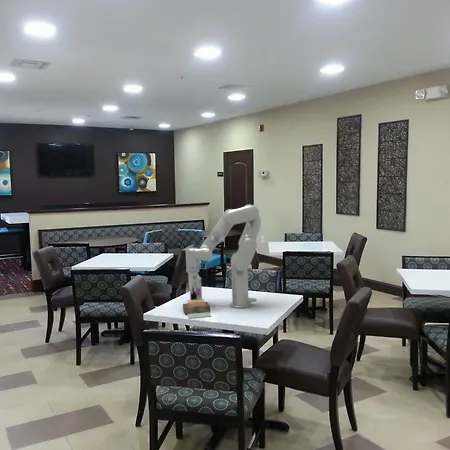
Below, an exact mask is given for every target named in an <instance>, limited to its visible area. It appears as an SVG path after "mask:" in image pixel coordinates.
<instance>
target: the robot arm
mask: <svg viewBox="0 0 450 450" xmlns="http://www.w3.org/2000/svg"><path fill="white" fill-rule="evenodd" d="M243 223H245V225H244V229H243V231H242V234H241V235H240V238H239V240H238V249H237V252H234V253H233V254H232V255H231V257H230V268H231V271H230V272H231V297H232V298H231V299H232V300H231V302H230V303H229V306H230V307H231V308H235V309H245V308H249V307H250V308H251V306H252V302H257V298H256V297H249V274H248V273H249V272H248V271H249V267H250V266H251V263H252V261H253V258H254V256H255V254H256V251H257V248H258V247H257V246H258V244H257V238H258V235H259V232H260V230H261V225H262V224H261V223H262V220H261V217H260V211H259V208H258V207H257V206H256V205H253V204H246V205H244V206H243V207H239V208H235V209H232V208H229V209H226V210H225V211H224V212H223V213H222V215H221V216H220V218H219V220H218V221H217V223H216V224H215V225H214V227H213V228H212V230H211V231H210V233H208V236H207V237H206V238H205V240H204V241H203V242H202V244H201V245H200V247H199V248H197V247H188V248H186V249H185V267H186V268H185V271H186V273H187V274H188V278H187V279H188V287H189V290H190V289H191V300H196V299H197V293H196V287H197V289H199V276H200V275H199V272H200V261H201V262H202V261H204V262H206V261H207V262H208V261H210V260H211V259H212V258H213V251H214V250H215V248H216V246H218V245H219V243H220V242H221V241H223V240H224V239H225V238H226V236H227V235H228V234H229V233H230V231H231V229H232V228H233V226H234V225H239V224H243ZM198 275H199V276H198Z"/></svg>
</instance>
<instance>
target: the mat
mask: <svg viewBox="0 0 450 450" xmlns="http://www.w3.org/2000/svg"><path fill="white" fill-rule="evenodd" d="M186 316H187V317H188V319H189V320H190V319H201V318H202V319H203V318H211V317H212V315H211V313H209V312H205V313H194V314H187V315H186Z"/></svg>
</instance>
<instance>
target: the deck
mask: <svg viewBox="0 0 450 450" xmlns="http://www.w3.org/2000/svg"><path fill="white" fill-rule="evenodd" d="M182 311H183V313H184V315H185V316H188V315H187V314H194V313H205V312H209V314H211V305H210V304H209V302H208V301H205V306H195V307H189V306H188V302H187V303H182Z"/></svg>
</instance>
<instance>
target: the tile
mask: <svg viewBox="0 0 450 450" xmlns="http://www.w3.org/2000/svg"><path fill="white" fill-rule="evenodd" d="M205 302H206V301H205V299H204V298H202V299H196V300H190V299H187V303H188V306H189V307H195V306H205Z"/></svg>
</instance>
